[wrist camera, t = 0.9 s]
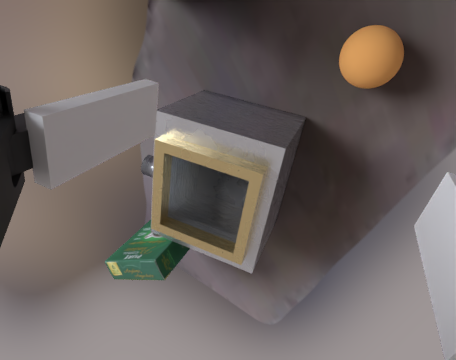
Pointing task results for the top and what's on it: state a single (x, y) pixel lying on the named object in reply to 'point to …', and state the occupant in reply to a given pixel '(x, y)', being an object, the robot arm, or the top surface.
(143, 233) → the coffee box
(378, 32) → the bead
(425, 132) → the top surface
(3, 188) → the robot arm
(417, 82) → the top surface
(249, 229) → the metal box
